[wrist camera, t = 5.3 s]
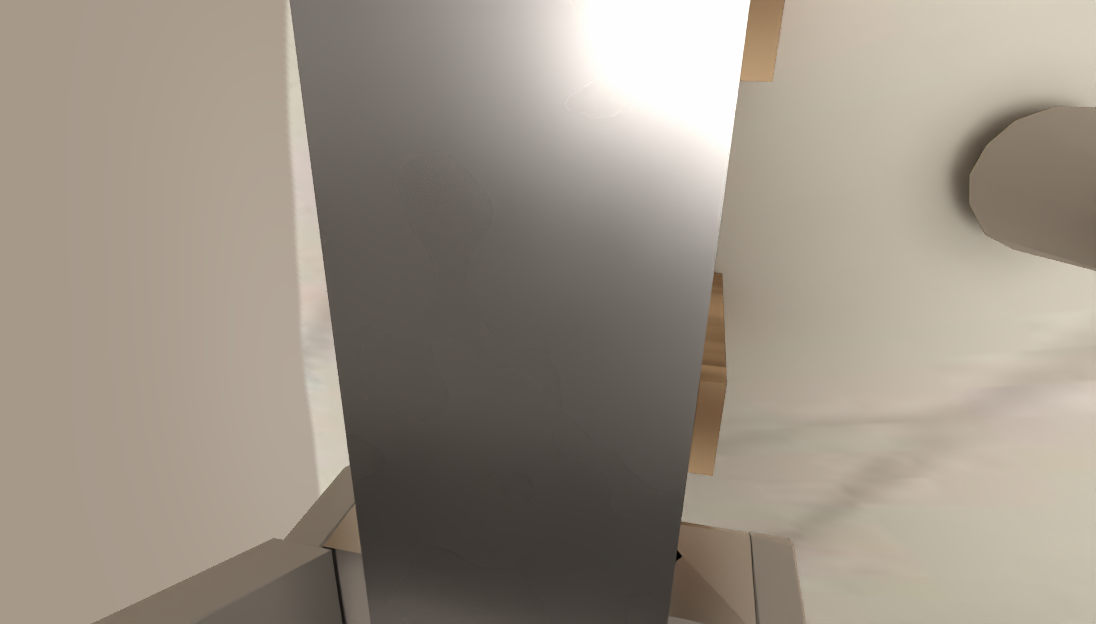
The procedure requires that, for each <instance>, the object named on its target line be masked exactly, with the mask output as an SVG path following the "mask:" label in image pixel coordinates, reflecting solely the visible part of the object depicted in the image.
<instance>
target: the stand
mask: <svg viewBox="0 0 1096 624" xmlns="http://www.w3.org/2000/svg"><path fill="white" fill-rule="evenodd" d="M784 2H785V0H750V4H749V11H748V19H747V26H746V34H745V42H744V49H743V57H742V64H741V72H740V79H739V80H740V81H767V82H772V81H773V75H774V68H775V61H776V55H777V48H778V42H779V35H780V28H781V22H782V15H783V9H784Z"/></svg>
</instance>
